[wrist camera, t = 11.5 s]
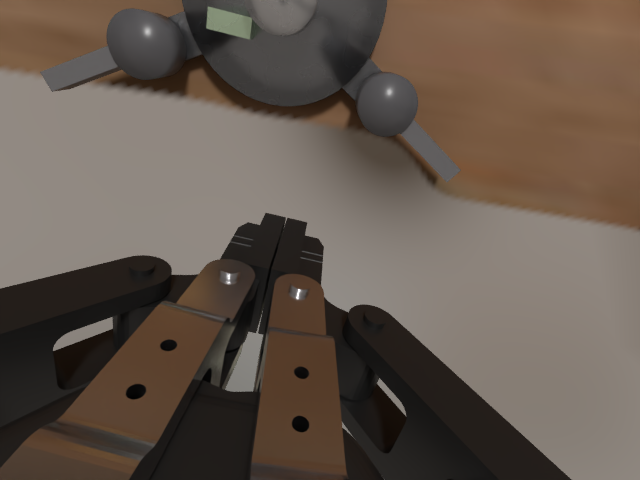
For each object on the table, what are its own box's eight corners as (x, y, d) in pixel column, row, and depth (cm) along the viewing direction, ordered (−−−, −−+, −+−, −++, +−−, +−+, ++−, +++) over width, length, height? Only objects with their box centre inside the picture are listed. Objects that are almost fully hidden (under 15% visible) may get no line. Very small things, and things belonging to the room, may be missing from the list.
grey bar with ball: (344, 102, 30) (346, 108, 27) (383, 58, 28) (389, 59, 26) (424, 183, 33) (433, 196, 30) (464, 148, 32) (477, 157, 29)
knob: (169, 4, 27) (151, -2, 24) (195, 66, 29) (181, 68, 26) (53, 50, 29) (23, 50, 26) (86, 106, 31) (61, 112, 28)
